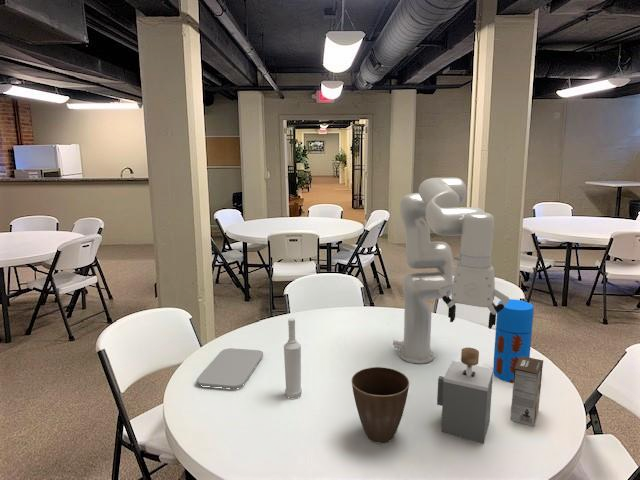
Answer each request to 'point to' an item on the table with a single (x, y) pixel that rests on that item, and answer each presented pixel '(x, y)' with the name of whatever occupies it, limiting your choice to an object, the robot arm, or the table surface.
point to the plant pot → (380, 401)
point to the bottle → (292, 363)
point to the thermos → (512, 337)
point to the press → (465, 401)
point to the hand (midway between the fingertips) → (471, 323)
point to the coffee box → (526, 390)
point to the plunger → (469, 359)
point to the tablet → (230, 368)
